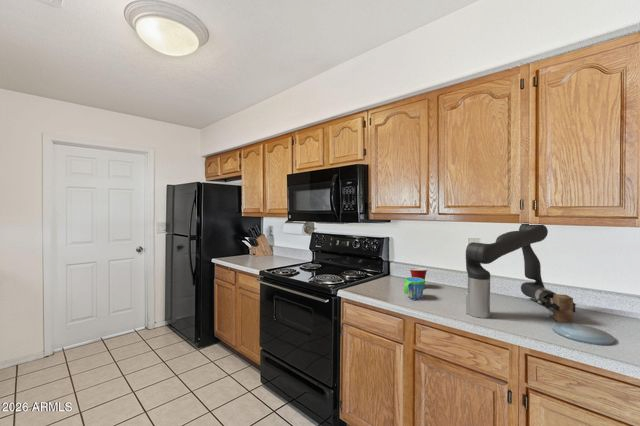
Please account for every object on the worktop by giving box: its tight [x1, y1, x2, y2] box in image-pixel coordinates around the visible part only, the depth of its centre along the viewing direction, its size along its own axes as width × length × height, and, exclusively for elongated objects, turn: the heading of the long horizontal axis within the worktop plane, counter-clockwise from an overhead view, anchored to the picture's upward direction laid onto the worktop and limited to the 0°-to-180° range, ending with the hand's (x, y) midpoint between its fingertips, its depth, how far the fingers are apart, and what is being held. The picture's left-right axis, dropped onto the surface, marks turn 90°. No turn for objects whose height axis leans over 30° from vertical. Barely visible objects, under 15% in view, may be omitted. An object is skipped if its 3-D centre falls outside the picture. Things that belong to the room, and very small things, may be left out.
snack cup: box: [403, 276, 426, 300], centre depth 164 cm, size 16×10×10 cm
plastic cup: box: [408, 267, 428, 281], centre depth 185 cm, size 11×11×12 cm
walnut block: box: [552, 293, 574, 323], centre depth 130 cm, size 5×5×11 cm
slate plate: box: [552, 322, 615, 346], centre depth 116 cm, size 18×18×1 cm
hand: (566, 309), depth 127 cm, fingers closed on walnut block, 5 cm apart
